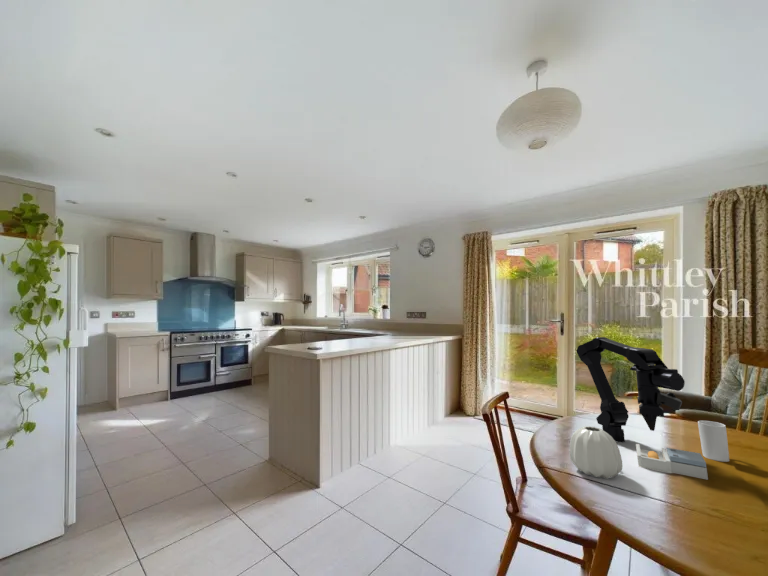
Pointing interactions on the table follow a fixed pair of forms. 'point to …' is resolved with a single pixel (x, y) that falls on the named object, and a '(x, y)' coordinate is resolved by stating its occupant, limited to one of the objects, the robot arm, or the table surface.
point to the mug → (713, 440)
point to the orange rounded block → (653, 455)
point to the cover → (686, 457)
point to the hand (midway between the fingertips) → (652, 430)
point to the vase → (595, 452)
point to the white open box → (669, 464)
